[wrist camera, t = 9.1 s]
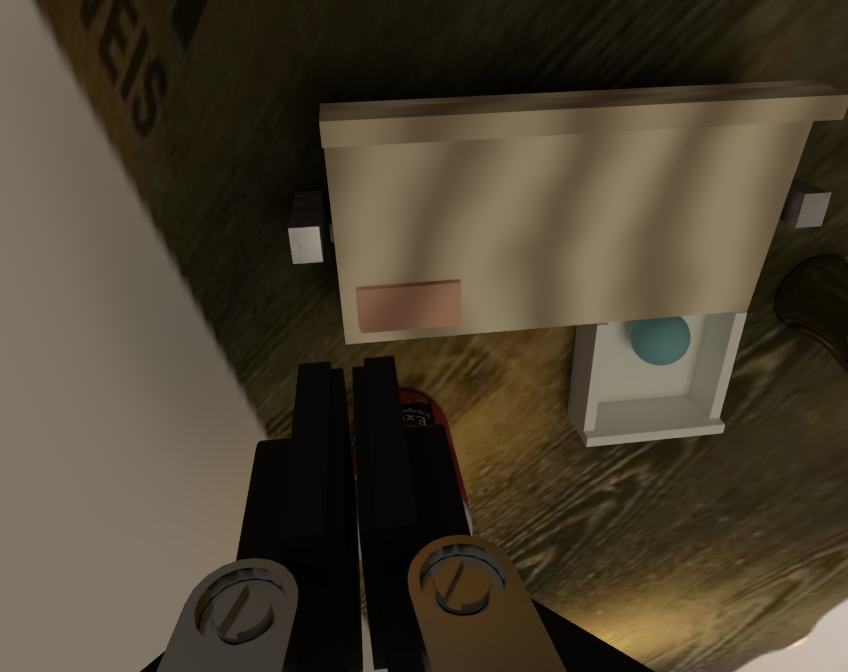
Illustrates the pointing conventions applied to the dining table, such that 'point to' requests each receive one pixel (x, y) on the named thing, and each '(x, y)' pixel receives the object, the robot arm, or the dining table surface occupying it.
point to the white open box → (651, 382)
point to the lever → (559, 204)
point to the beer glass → (818, 303)
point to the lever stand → (309, 219)
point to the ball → (660, 339)
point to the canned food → (415, 414)
